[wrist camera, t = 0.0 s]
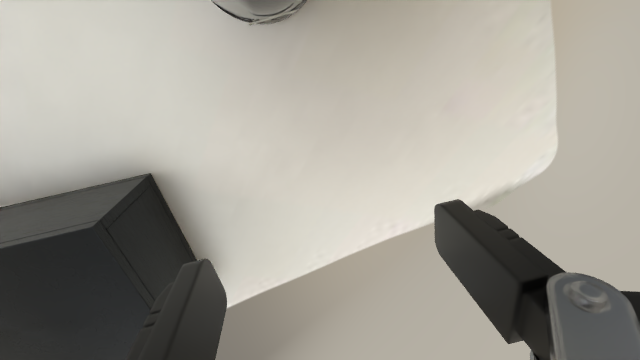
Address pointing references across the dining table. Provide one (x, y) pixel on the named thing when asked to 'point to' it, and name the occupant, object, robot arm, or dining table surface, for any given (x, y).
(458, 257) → the robot arm
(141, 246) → the black drawer casing
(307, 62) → the dining table surface
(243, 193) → the dining table surface
